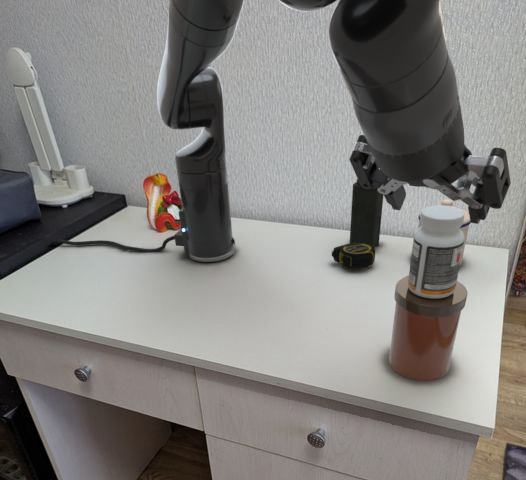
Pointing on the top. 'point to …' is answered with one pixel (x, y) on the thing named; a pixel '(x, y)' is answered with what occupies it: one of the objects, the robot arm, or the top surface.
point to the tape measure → (354, 255)
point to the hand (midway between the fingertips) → (437, 208)
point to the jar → (424, 332)
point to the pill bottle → (436, 252)
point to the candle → (366, 215)
